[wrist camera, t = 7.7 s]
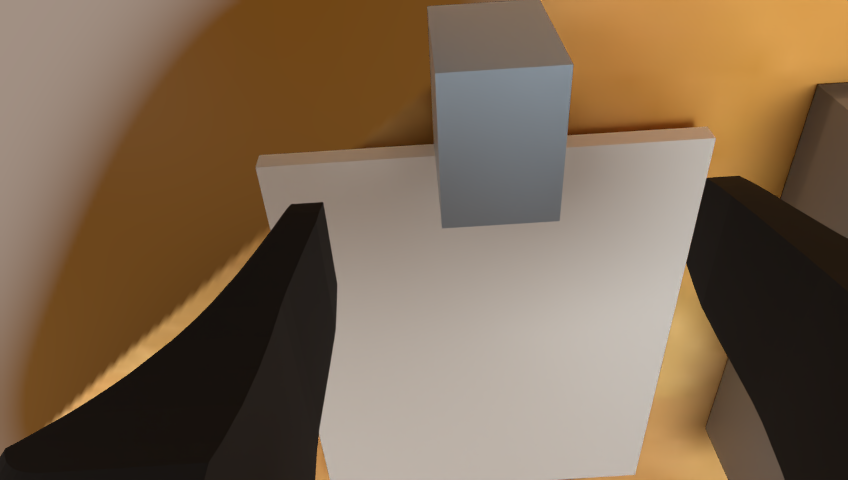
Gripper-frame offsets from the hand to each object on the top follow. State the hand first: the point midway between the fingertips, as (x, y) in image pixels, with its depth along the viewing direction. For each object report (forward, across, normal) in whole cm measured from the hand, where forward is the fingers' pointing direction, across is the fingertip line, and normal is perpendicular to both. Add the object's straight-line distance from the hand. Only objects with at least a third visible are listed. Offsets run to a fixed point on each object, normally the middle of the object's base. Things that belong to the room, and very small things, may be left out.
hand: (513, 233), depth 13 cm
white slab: (+6, 0, +6) cm, 8 cm away
